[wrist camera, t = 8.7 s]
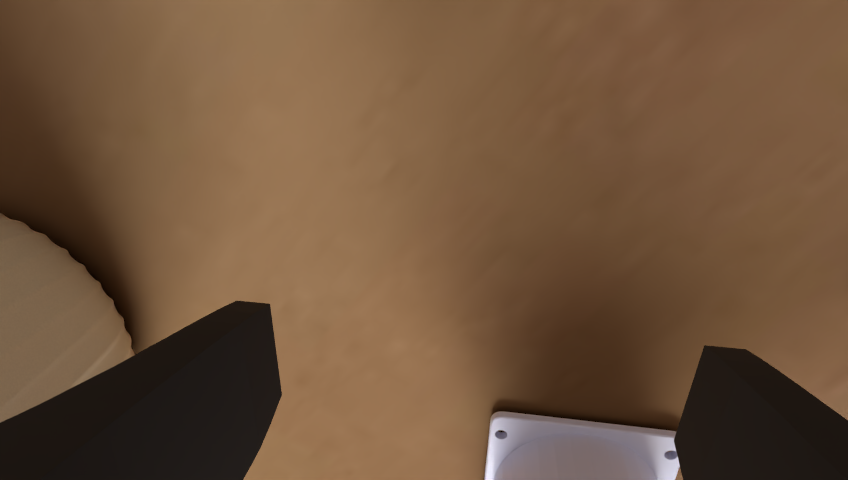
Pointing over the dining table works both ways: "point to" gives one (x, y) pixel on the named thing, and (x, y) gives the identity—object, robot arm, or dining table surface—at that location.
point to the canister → (50, 321)
